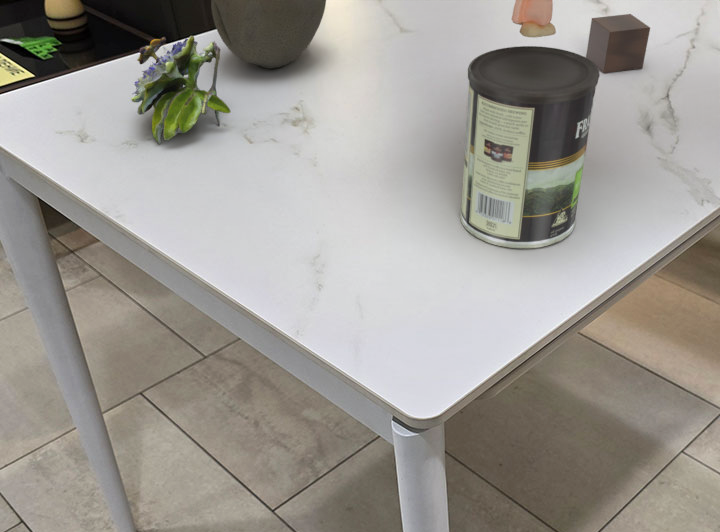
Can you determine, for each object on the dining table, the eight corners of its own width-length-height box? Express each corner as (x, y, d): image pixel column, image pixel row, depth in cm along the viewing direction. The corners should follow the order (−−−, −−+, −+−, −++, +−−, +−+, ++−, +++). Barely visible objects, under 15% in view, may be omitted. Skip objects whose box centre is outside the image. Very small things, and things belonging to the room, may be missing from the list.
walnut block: (623, 53, 106) (630, 13, 103) (642, 68, 102) (650, 27, 99) (585, 58, 105) (591, 17, 102) (603, 73, 102) (610, 32, 99)
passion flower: (169, 157, 101) (167, 55, 101) (251, 150, 97) (250, 44, 97) (112, 142, 90) (110, 29, 90) (202, 134, 86) (200, 15, 86)
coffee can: (574, 193, 80) (597, 46, 71) (576, 254, 72) (602, 98, 63) (464, 185, 82) (473, 42, 73) (453, 244, 74) (462, 91, 65)
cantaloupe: (322, 84, 103) (316, -46, 94) (208, 83, 104) (191, -44, 95) (335, 41, 114) (330, -78, 105) (231, 41, 115) (218, -76, 106)
